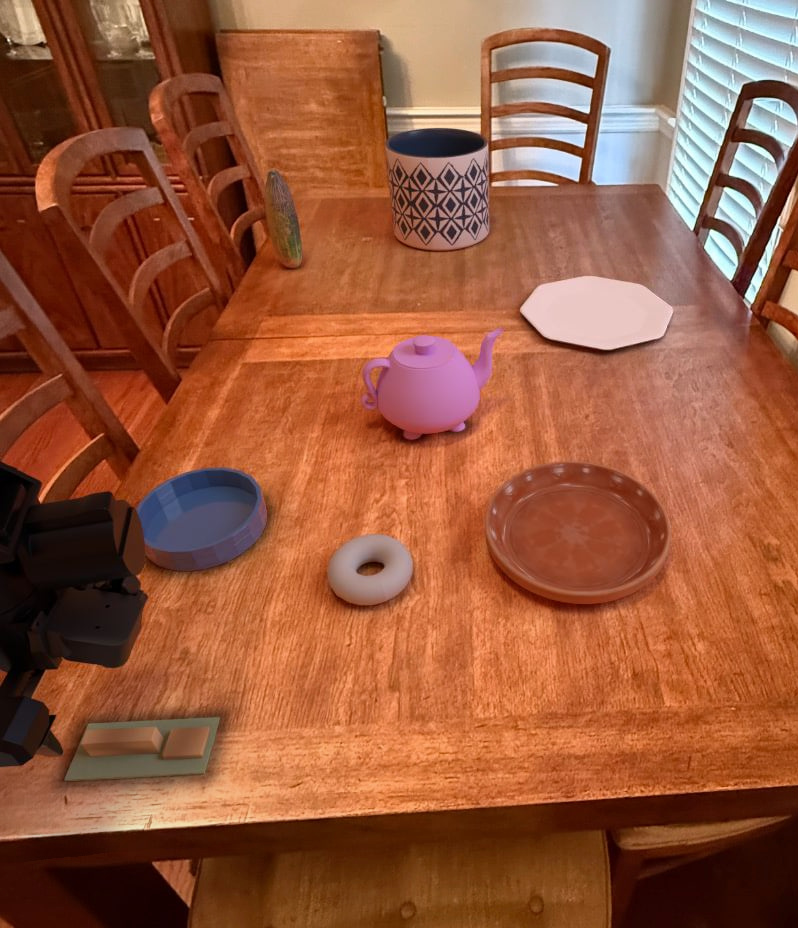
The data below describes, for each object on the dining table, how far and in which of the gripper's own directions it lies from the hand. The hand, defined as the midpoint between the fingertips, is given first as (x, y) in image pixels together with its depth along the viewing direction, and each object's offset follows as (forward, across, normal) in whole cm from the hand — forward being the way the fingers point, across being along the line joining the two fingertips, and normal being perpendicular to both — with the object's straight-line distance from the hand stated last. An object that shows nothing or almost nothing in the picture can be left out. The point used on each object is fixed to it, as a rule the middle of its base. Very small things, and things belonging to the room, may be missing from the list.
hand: (79, 704), depth 61 cm
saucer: (+8, +25, -48) cm, 55 cm away
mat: (+8, 0, -3) cm, 9 cm away
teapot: (+8, +52, -30) cm, 61 cm away
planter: (+8, +125, -29) cm, 129 cm away
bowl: (+8, +30, -1) cm, 31 cm away
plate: (+8, +84, -60) cm, 103 cm away
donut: (+8, +20, -23) cm, 31 cm away
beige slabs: (+8, 0, -3) cm, 8 cm away
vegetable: (+8, +109, +3) cm, 109 cm away
